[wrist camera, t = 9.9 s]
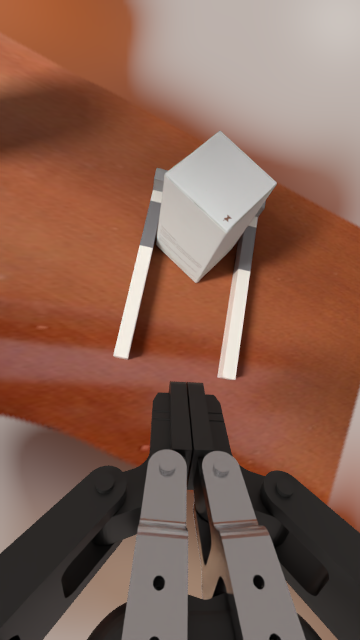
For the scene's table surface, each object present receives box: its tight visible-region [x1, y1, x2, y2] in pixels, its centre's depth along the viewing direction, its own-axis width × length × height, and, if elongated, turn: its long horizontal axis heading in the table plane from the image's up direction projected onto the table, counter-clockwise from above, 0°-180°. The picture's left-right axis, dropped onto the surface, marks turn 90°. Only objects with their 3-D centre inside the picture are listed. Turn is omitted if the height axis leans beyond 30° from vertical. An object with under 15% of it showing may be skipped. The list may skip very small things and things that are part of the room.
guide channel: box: [113, 168, 266, 380], centre depth 33 cm, size 14×22×6 cm, turn 170°
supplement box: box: [156, 131, 277, 283], centre depth 31 cm, size 7×7×13 cm
